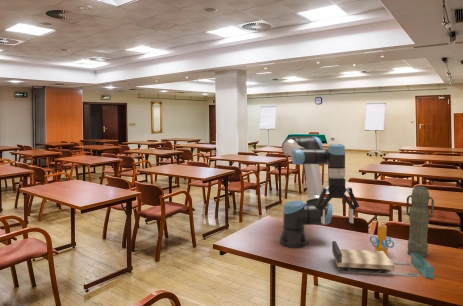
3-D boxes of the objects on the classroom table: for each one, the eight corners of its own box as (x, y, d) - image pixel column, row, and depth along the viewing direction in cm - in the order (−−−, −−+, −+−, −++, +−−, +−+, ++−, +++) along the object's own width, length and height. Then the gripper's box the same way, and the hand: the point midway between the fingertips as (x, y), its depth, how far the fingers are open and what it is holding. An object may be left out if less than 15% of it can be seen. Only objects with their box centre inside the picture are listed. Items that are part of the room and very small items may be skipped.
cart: (337, 271, 149) (338, 253, 149) (331, 256, 165) (332, 241, 164) (394, 274, 146) (394, 256, 145) (382, 259, 162) (383, 243, 161)
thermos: (403, 249, 176) (406, 184, 173) (428, 252, 172) (432, 186, 168) (405, 255, 168) (408, 187, 165) (431, 259, 164) (435, 189, 160)
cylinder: (395, 259, 163) (396, 230, 162) (373, 258, 166) (374, 228, 164) (389, 250, 175) (390, 222, 174) (368, 248, 177) (369, 221, 176)
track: (339, 273, 149) (340, 262, 149) (334, 258, 165) (334, 248, 165) (432, 278, 144) (433, 267, 143) (417, 262, 160) (418, 252, 159)
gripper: (313, 178, 150) (313, 225, 150) (366, 177, 152) (366, 224, 152) (308, 177, 157) (308, 222, 157) (358, 176, 159) (359, 220, 159)
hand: (337, 223), depth 155 cm, fingers open, 13 cm apart
